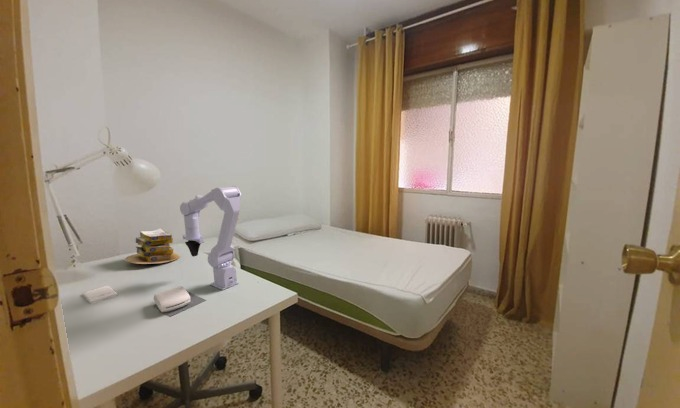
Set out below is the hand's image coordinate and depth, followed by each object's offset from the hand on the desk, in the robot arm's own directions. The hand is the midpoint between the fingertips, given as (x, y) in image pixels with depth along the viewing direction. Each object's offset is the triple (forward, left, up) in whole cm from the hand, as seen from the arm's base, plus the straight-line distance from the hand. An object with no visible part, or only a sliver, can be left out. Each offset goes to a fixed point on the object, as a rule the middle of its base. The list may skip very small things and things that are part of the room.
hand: (194, 255), depth 123 cm
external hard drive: (+16, +31, -11) cm, 37 cm away
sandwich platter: (+43, 0, -11) cm, 44 cm away
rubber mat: (-19, +17, -10) cm, 28 cm away
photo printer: (-12, +18, -8) cm, 23 cm away
